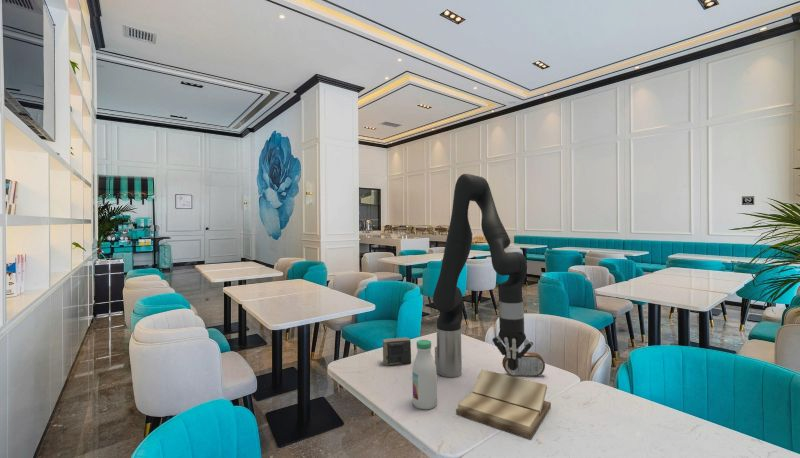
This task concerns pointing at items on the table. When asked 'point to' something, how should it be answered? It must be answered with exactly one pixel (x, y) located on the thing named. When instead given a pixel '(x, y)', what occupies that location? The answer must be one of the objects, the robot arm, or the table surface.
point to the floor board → (502, 414)
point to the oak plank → (511, 390)
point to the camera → (396, 351)
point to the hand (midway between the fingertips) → (513, 369)
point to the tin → (526, 365)
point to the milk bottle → (424, 377)
